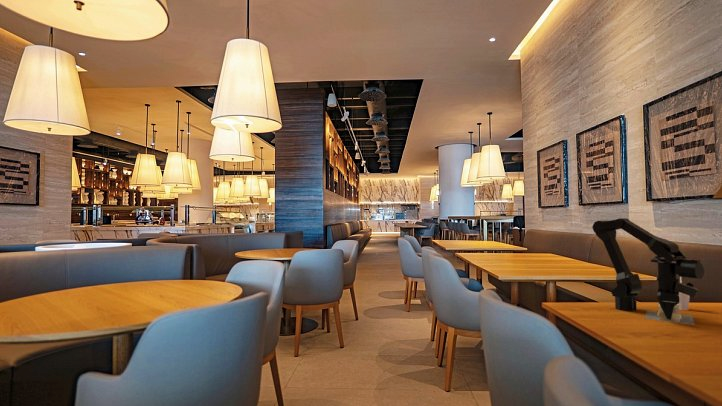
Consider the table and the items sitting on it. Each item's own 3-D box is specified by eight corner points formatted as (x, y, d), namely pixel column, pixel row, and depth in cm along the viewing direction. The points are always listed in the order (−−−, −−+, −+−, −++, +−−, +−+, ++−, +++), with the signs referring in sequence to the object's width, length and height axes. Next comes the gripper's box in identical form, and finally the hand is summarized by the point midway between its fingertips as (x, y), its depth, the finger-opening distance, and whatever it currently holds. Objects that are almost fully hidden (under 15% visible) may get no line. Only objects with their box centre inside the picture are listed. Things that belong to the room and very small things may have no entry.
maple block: (658, 319, 139) (658, 305, 139) (659, 315, 143) (658, 302, 144) (679, 322, 135) (679, 308, 135) (679, 318, 140) (678, 305, 140)
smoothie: (690, 308, 158) (689, 275, 158) (694, 311, 152) (692, 277, 153) (671, 306, 161) (669, 274, 162) (674, 309, 156) (672, 276, 156)
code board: (645, 320, 140) (645, 318, 140) (647, 312, 152) (646, 310, 152) (694, 327, 131) (694, 324, 131) (692, 318, 143) (692, 316, 143)
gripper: (697, 280, 128) (699, 326, 127) (694, 274, 142) (696, 315, 141) (656, 277, 135) (658, 320, 134) (657, 271, 149) (659, 310, 148)
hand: (669, 316), depth 139 cm, fingers open, 9 cm apart
